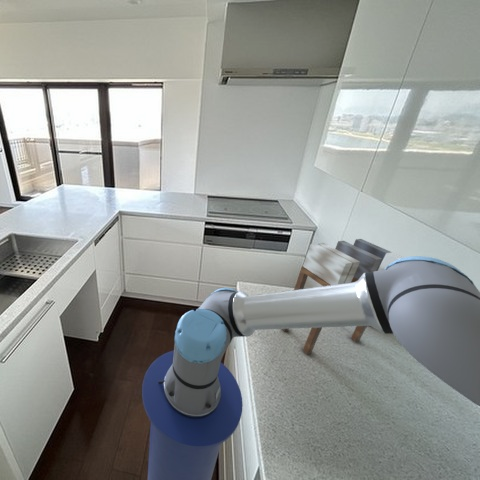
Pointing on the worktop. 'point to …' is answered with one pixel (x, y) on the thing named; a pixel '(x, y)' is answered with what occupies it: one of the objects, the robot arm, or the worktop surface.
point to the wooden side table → (338, 271)
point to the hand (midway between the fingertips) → (456, 288)
